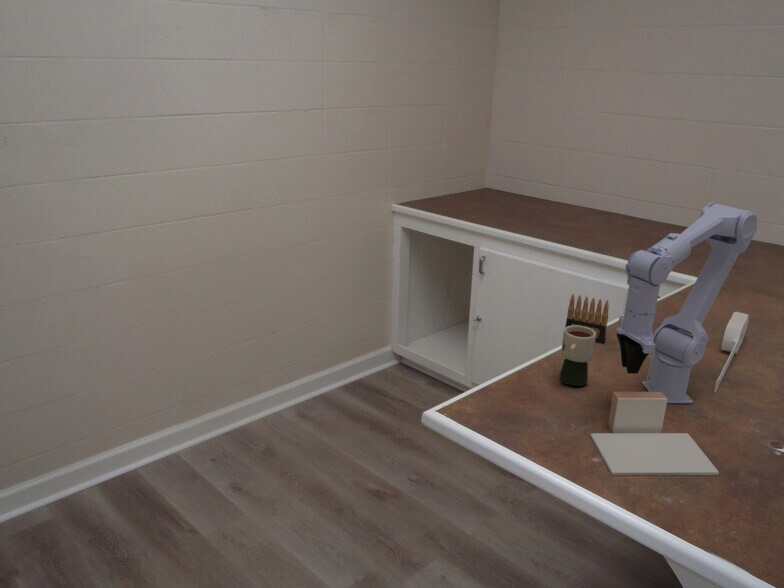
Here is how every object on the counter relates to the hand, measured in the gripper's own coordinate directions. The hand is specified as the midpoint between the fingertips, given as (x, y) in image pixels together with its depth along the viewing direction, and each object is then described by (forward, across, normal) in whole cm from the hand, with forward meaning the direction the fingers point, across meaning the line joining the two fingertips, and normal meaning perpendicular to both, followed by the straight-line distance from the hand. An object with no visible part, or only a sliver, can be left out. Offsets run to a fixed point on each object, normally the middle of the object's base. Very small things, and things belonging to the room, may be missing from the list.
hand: (629, 369), depth 141 cm
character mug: (+11, -14, -7) cm, 19 cm away
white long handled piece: (+10, -25, +34) cm, 43 cm away
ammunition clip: (+10, -38, +3) cm, 39 cm away
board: (+10, +15, 0) cm, 19 cm away
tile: (+10, +6, 0) cm, 12 cm away
